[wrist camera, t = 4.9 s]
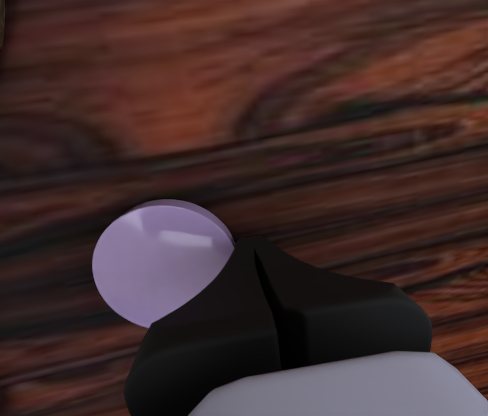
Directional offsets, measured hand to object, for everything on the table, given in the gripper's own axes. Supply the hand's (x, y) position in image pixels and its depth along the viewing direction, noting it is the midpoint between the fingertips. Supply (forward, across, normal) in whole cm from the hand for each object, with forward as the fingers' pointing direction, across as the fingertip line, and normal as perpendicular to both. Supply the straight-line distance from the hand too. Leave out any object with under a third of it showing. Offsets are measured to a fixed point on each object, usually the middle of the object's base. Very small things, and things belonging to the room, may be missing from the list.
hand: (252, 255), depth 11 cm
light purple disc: (+1, +4, 0) cm, 4 cm away
